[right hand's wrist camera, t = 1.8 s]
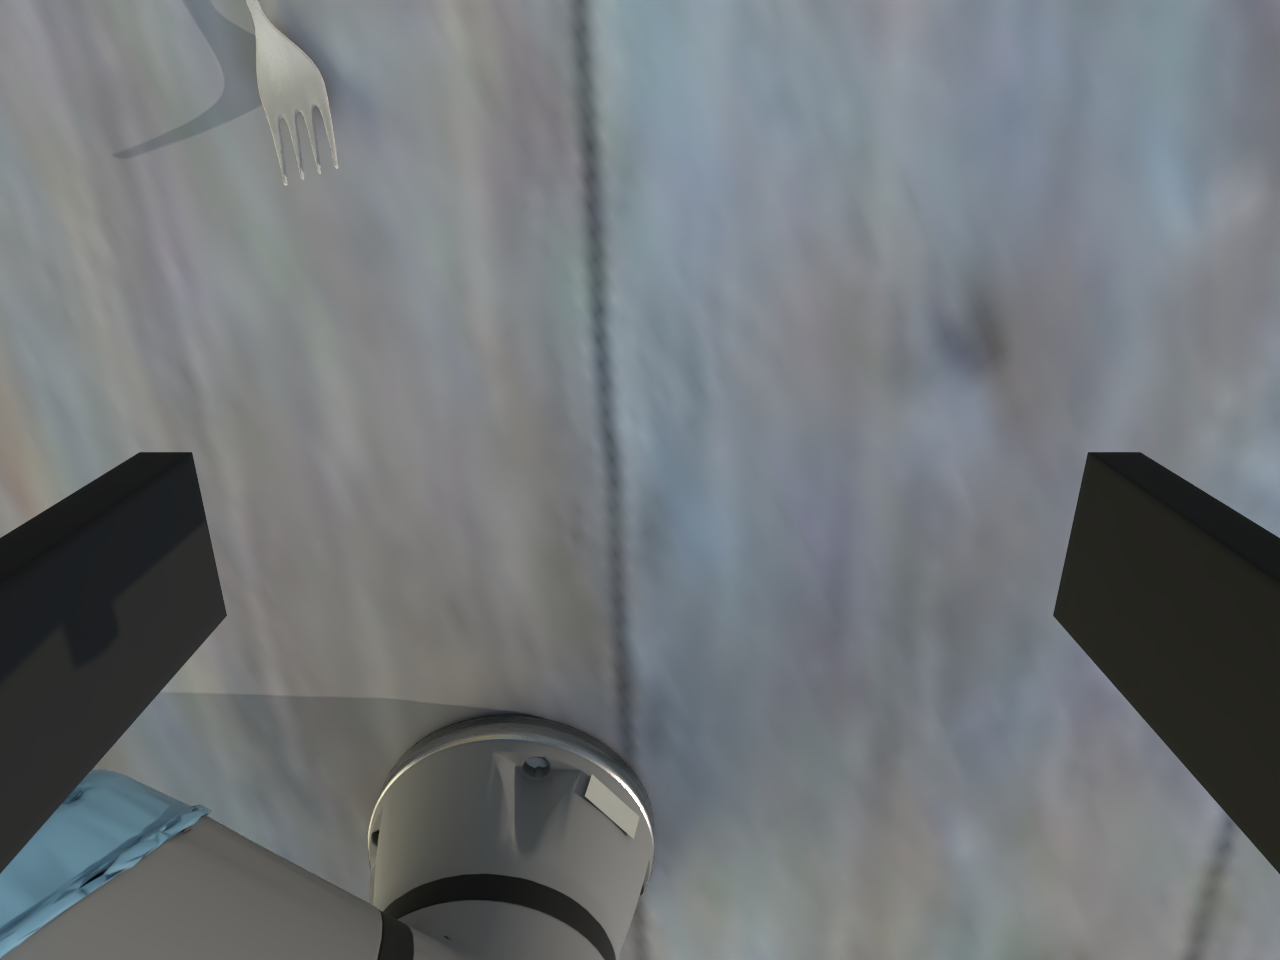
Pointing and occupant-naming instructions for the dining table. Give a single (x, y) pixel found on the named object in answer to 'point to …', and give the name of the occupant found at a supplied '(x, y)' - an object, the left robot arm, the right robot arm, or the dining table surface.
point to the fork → (289, 88)
